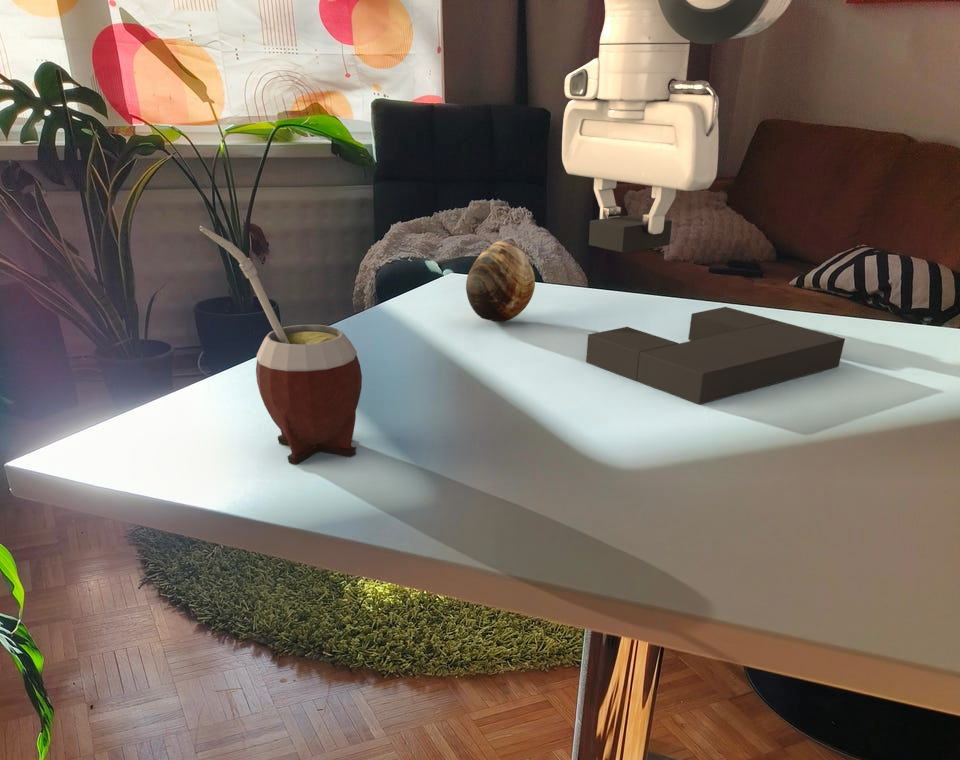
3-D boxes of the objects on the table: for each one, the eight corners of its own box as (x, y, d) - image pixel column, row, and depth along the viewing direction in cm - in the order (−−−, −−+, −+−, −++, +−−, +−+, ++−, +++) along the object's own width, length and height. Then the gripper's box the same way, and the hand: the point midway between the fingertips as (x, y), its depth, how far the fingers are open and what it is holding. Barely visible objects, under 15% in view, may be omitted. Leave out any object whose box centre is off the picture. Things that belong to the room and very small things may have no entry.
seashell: (504, 308, 98) (505, 229, 93) (548, 316, 95) (551, 235, 90) (450, 326, 91) (449, 242, 87) (496, 336, 89) (497, 249, 84)
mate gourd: (383, 439, 65) (369, 215, 57) (325, 478, 59) (300, 234, 51) (298, 424, 68) (272, 207, 59) (234, 460, 62) (195, 225, 54)
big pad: (721, 332, 90) (725, 306, 88) (839, 366, 80) (845, 338, 79) (585, 362, 81) (587, 334, 80) (699, 404, 72) (703, 373, 70)
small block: (635, 238, 102) (637, 214, 100) (669, 245, 98) (672, 220, 96) (588, 245, 98) (589, 220, 97) (622, 252, 94) (624, 227, 93)
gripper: (743, 80, 84) (722, 238, 91) (599, 76, 98) (591, 214, 105) (695, 81, 81) (678, 245, 88) (554, 78, 95) (549, 219, 103)
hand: (630, 228), depth 97 cm, fingers closed on small block, 5 cm apart
